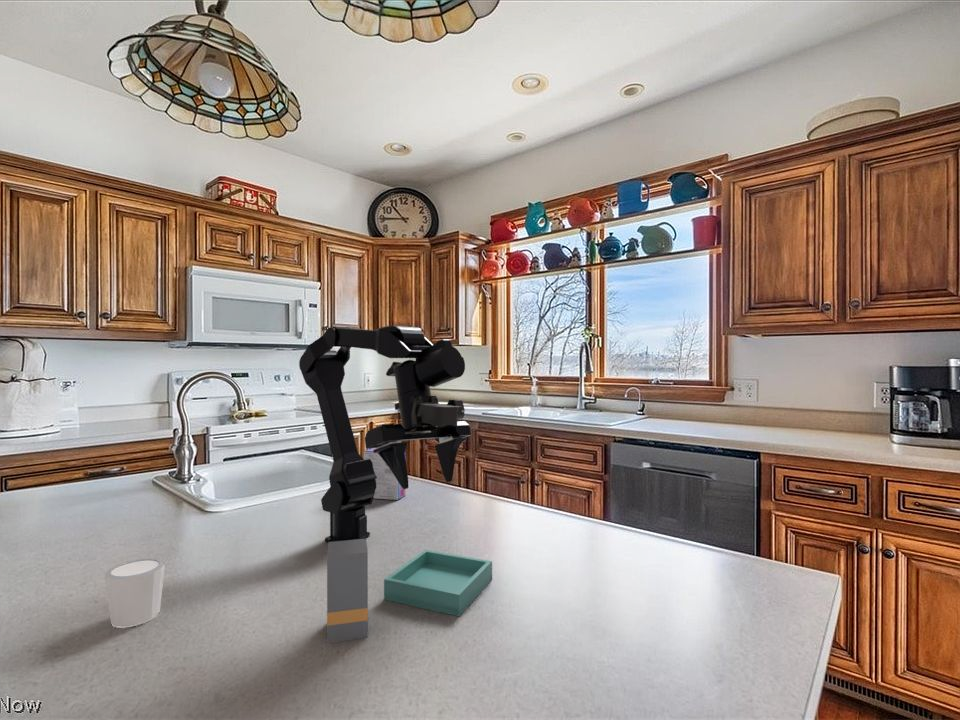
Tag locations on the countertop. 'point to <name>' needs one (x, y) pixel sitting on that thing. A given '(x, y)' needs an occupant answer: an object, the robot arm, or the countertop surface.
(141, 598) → the white cup
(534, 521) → the countertop surface
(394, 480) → the ink cartridge box
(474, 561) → the tray
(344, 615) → the gray rectangular block
